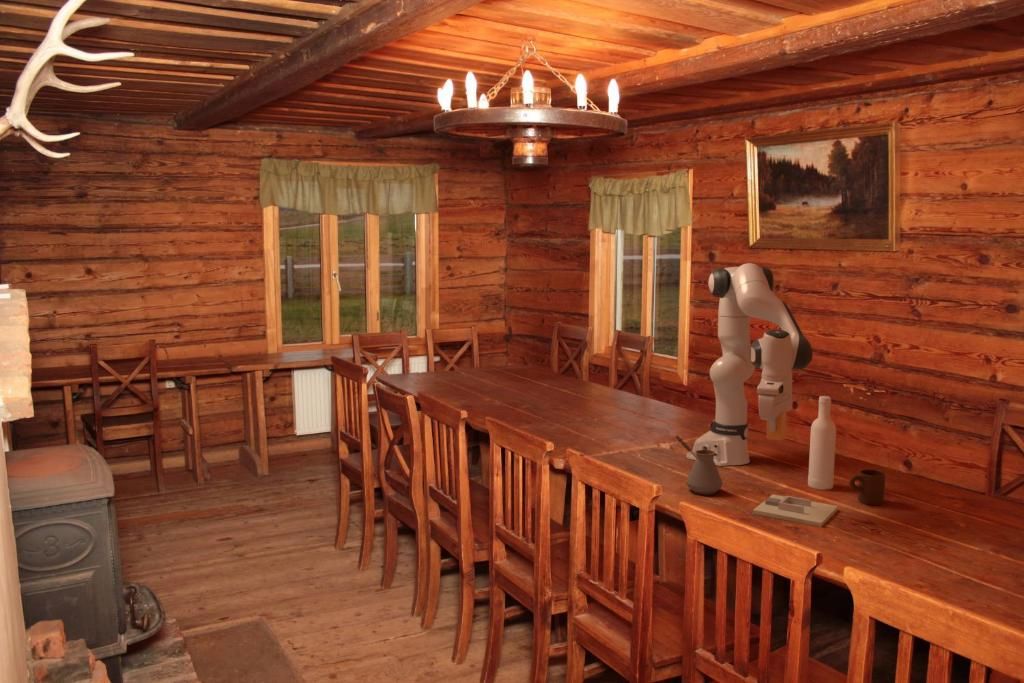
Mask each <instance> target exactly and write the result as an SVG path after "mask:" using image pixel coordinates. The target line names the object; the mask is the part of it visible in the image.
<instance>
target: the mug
mask: <svg viewBox="0 0 1024 683" xmlns="http://www.w3.org/2000/svg"><path fill="white" fill-rule="evenodd" d="M856 481H858V485H856ZM848 482H849V488H850V489H851V490H852V491H854V492H855V491H856V492H857V499H858V502H860V503H862V504H865V505H869V506H881V505H882V504H884V502H885V501H884V500H885V489H886V473H885V472H883V471H881V470H877V469H861V470H859V474H854V475H852V476H851V477H850V478H849V481H848Z"/></svg>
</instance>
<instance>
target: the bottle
mask: <svg viewBox="0 0 1024 683" xmlns="http://www.w3.org/2000/svg"><path fill="white" fill-rule="evenodd" d="M831 405H832V398H831V396H828V395H820V396H819V398H818V411H817V412H818V417H816V419H814V420H813V422H812V424H811V426H810V438H809V442H810V443H809V457H808V458H809V459H808V476H807V485H808V487H810V488H812V489H814V490H822V491H827V490H828V491H829V490H832V489H833V488H834V481H835V479H834V478H835V477H834V475H835V474H834V473H835V460H836V459H835V457H836V437H837V426H836V425H835V422H834V421H833V420H832V418H831V407H832V406H831Z"/></svg>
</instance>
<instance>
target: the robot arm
mask: <svg viewBox="0 0 1024 683" xmlns="http://www.w3.org/2000/svg"><path fill="white" fill-rule="evenodd" d="M707 282H708V283H707V284H708V288H709V292H710V294H711V295H712V296H713V297H714V298H718V299H719V301H718V302H719V303H718V311H717V313H718V314H717V317H718V318H717V339H718V340H719V342H720V347H721V353H722V356H721V357H719V358H718V359H716V360H715V361H714V362H713V364H712V365H711V367H710V369H709V377H710V380H711V381H712V383H713V389H714V396H715V418H714V419H713V420H712V421H711V422H709V423H708V428H709V429H710V430H708V431H707V432H705V433H704V434H702V435H701V436H699V437H698V438H697V439H695V441H694V444H693V447H692V449H691V450H692V451H693V452H694V453H695V452H696V451H697V450H710V451H714V452H715V453H716V454H715V455H714V458H713V460H714V462H715V465H716V466H718V467H726V466H727V467H728V466H741V465H746V464H749V463H750V461H751V459H750V456H749V450H748V441H747V440H748V436H749V423H748V399H747V398H746V394H745V388H744V383H745V381H747V380H748V379H750V378H751V377H752V376H753V374H754V372H755V370H756V368H757V369H761V370H762V372H761V379H760V382H759V384H758V385H757V387H756V393H757V394H759V395H758V399H757V400H758V415H759V419H760V420H762V421H767V420H768V423H769V431H770V432H775V431H776V430H777V425H776V422H775V421H776V417H778V416H780V414H781V413H783V412H785V411H786V413H787V412H788V411H791V410H792V409H793V372H792V371H793V370H800V371H802V370H804V369H806V367H808V366H809V365H810V364H811V363H812V360H813V356H814V355H813V354H814V353H813V348H812V344H811V342H810V341H809V340H808V338H807V337H805V335H804V334H803V332H802V330H801V327H800V326H799V325H798V322H797V321H796V319H795V317H794V315H793V313H792V312H791V309H790V308H789V306H788V305H787V303H786V302H785V301H784V300H781V299H780V298H778V297H777V296H776V295H775V294H774V293H773V290H774V285H775V277H774V274H773V272H772V270H771V269H770V268H769V267H765V266H760V265H757V263H752V262H751V263H750V262H747V263H743V264H741V265H739V266H729V267H717V268H714V269H713V270H712V271H711V272H710V273H709V277H708V281H707ZM751 318H753V319H758V320H763V321H766V322H769V323H773V324H775V325H777V326H778V327H779V328H780V329H776V328H775V329H769V330H766V331H765V332H764V334H763V336H762V337H761V338H757V339H755V340H754V341H753V342H752V344H751ZM686 458H687V459H689V460H693V461H696V458H695V457H694V456H693V455H692V454H691V452H689V451H688V452H687V453H686Z"/></svg>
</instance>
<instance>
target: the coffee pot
mask: <svg viewBox="0 0 1024 683" xmlns="http://www.w3.org/2000/svg"><path fill="white" fill-rule="evenodd" d="M675 438H676V440H675ZM672 441H674V442H676V441H678V443H680V444H681V445H682V447H683V448H685V449H686V450H687V451H688V452H691V454H692V455H693V456H694V457H695V458H696V460H694V461H695V462H694V464H693V466H692V468H691V470H690V472H689V474H688V476H687V478H686V479H685V480H686V485H687V487H688V489H690V490H691V491H692V492H693V493H695V494H699V495H713V494H716V493H717V492H718V491H719V490H721V488H722V487H723V481H722V478H721V475H720V473H719V471H718V467H717V465H715V462H714V460H713V458H714V455H715V454H716V453H715V452H714V451H710V450H697V451H696V452H695V453H694V452H693V451H692V450H693V449H691V447H690V446H689V445H688V443H686V442H685V441H684V440H683V439H682V438H680V436H678V435H675V436H674V437H673V440H672Z"/></svg>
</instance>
